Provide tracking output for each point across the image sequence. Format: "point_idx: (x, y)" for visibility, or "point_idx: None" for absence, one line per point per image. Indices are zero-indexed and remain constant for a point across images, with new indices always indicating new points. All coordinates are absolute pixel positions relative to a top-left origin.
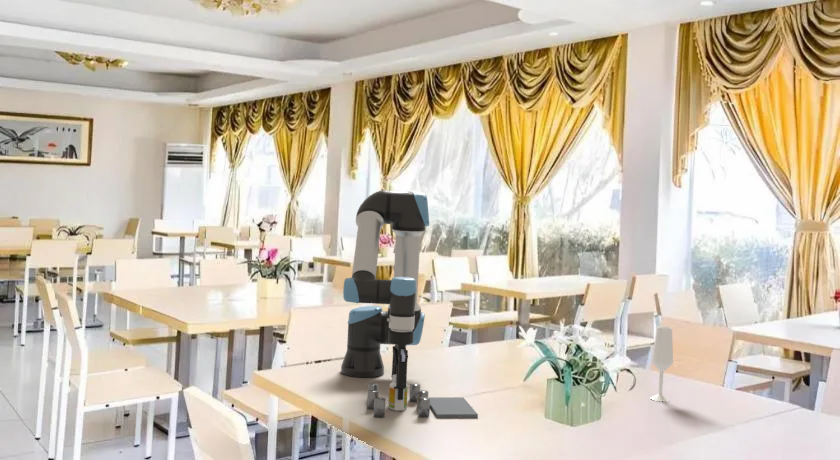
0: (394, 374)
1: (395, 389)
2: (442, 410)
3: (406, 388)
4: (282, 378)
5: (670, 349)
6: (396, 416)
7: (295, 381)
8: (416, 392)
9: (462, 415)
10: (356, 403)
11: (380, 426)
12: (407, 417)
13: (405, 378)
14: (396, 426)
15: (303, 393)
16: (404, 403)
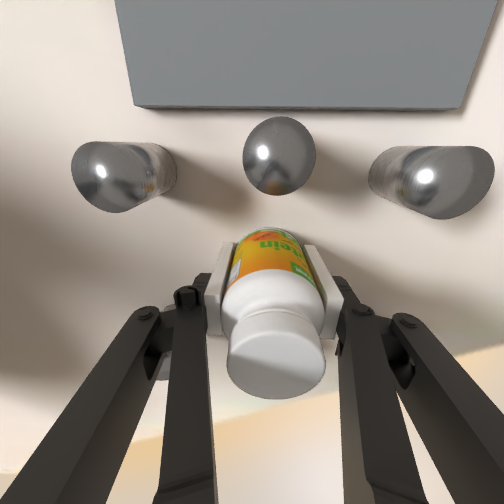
0: (208, 375)
1: (326, 333)
2: (399, 51)
3: (305, 278)
4: (23, 451)
5: None
6: (368, 276)
7: (37, 438)
8: (156, 170)
9: None
10: (213, 357)
11: (453, 332)
12: (391, 242)
13: (464, 379)
14: (476, 293)
15: (138, 433)
16: (300, 249)
